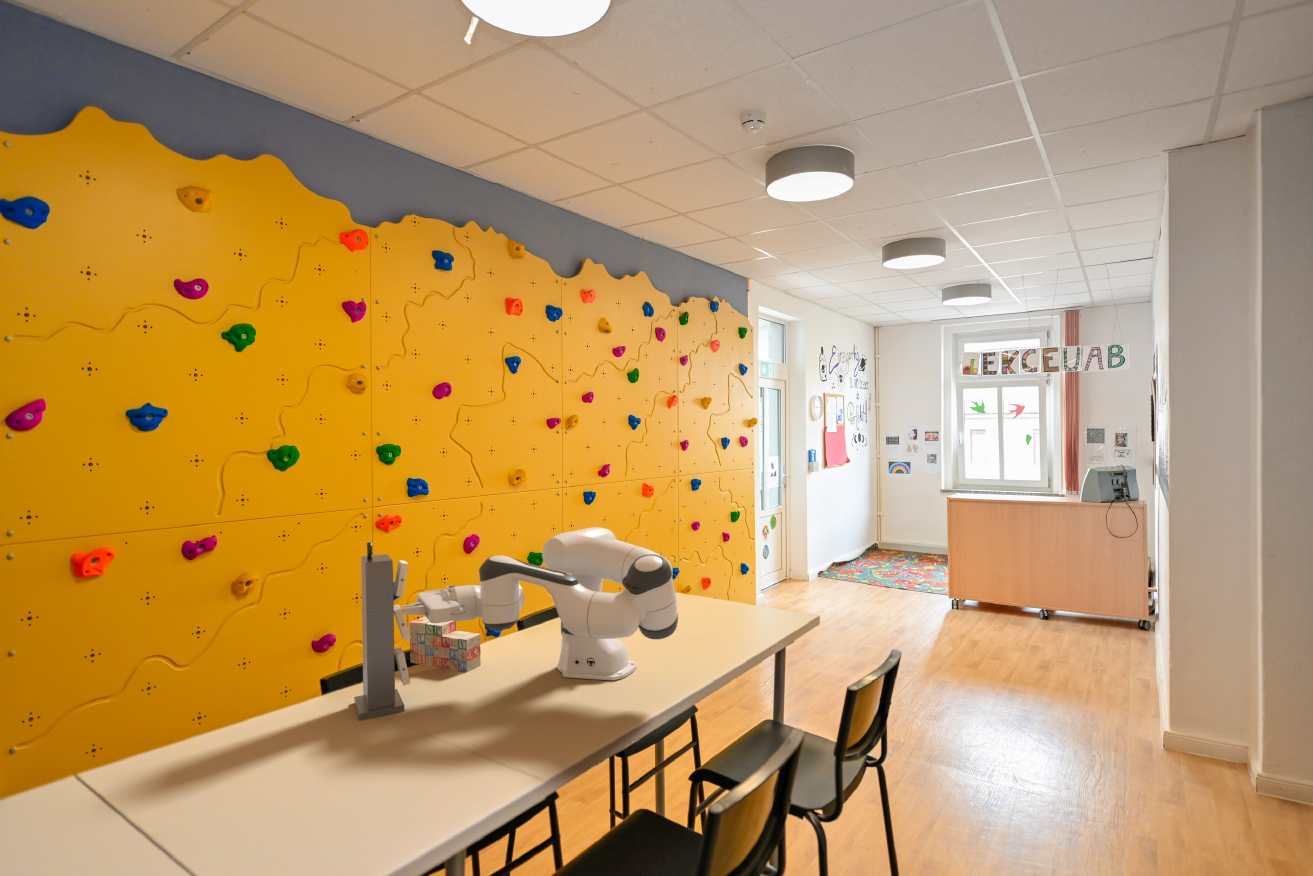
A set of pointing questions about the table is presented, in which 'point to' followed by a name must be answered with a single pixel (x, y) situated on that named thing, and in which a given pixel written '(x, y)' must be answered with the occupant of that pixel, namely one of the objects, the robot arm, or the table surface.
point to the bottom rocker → (402, 666)
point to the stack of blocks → (443, 645)
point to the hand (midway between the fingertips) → (403, 610)
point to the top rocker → (400, 578)
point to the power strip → (377, 639)
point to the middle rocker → (401, 622)
